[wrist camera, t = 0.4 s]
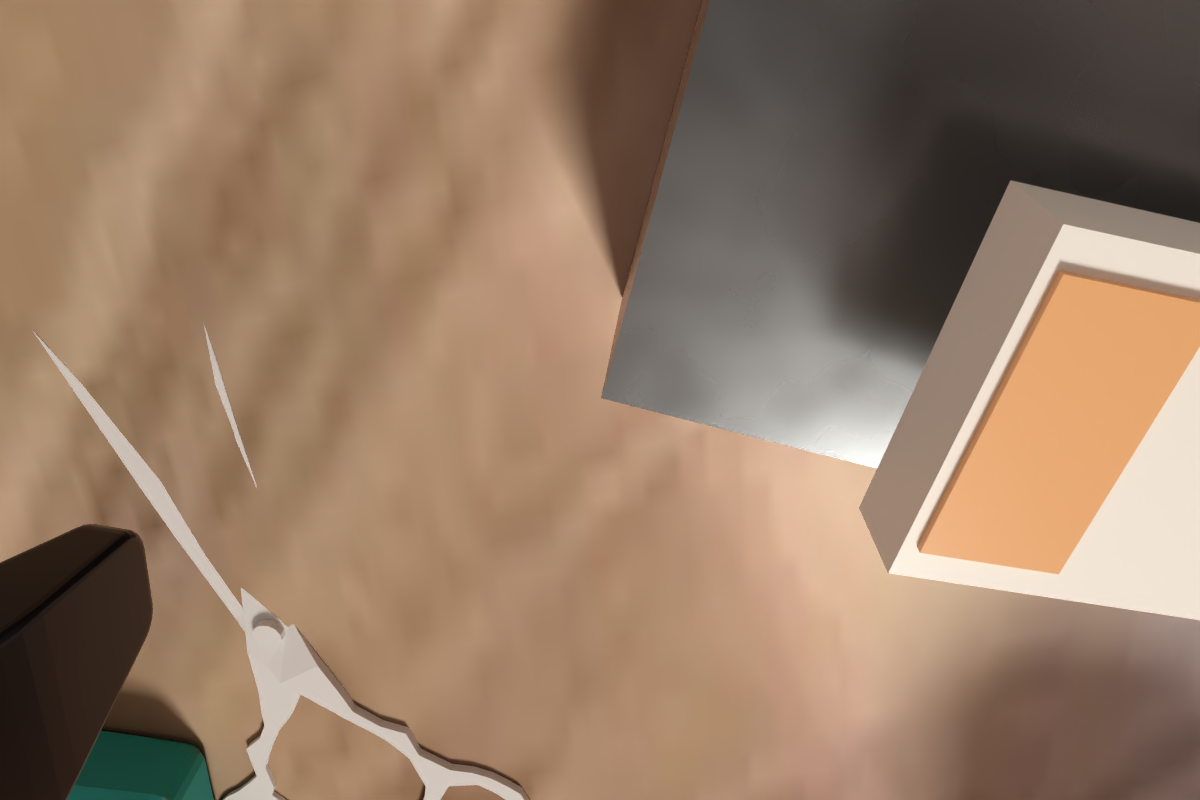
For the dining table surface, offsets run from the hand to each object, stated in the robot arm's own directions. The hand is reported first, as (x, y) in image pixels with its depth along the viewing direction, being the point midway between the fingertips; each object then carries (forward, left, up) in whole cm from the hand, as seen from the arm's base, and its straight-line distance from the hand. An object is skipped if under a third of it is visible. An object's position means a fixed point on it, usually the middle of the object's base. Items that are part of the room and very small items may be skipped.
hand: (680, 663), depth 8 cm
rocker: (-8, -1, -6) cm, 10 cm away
